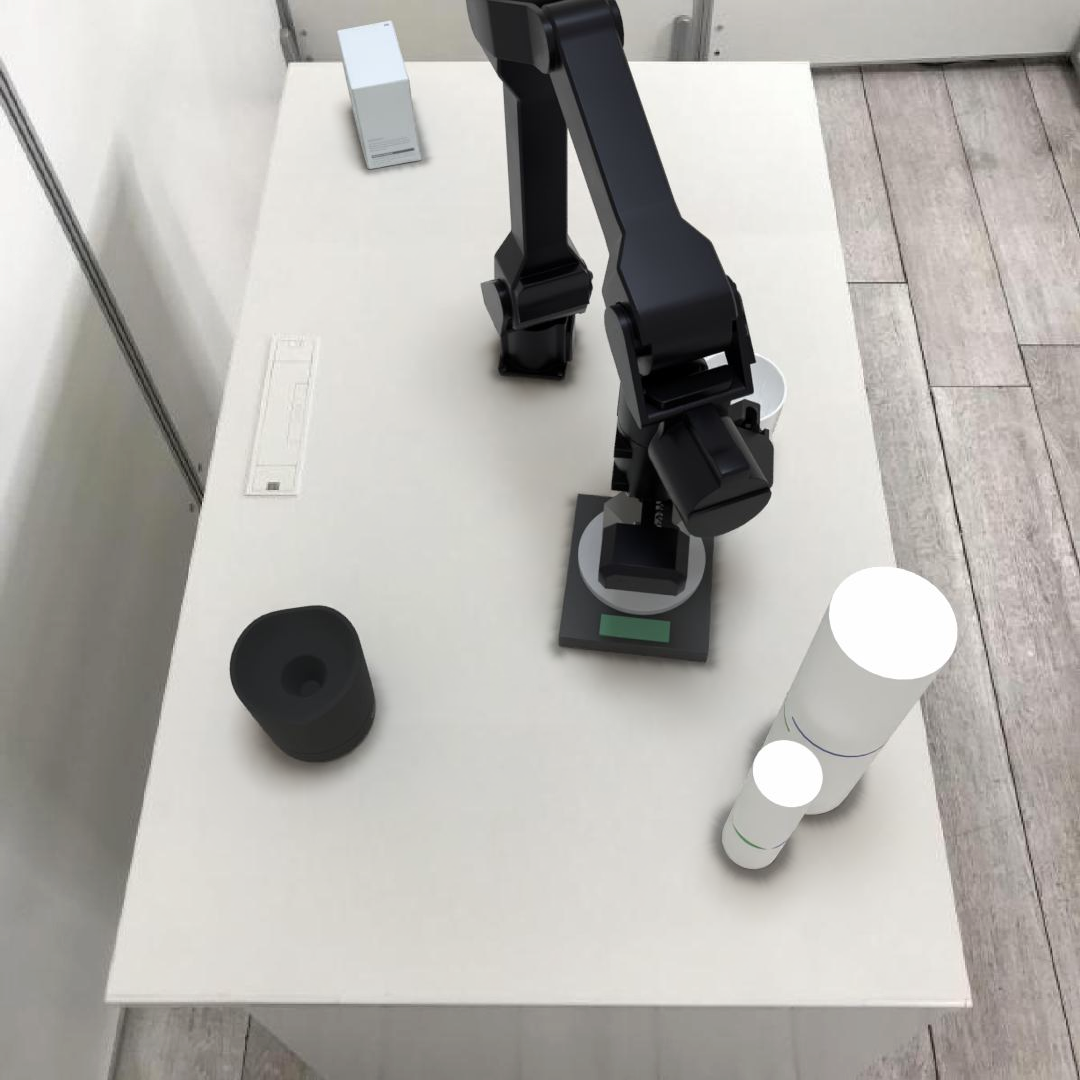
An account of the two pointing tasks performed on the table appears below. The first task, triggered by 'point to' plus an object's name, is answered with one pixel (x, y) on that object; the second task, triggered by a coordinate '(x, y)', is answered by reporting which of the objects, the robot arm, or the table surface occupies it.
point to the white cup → (761, 388)
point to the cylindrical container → (864, 673)
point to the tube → (771, 803)
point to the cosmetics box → (379, 94)
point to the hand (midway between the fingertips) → (643, 534)
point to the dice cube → (632, 512)
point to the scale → (633, 600)
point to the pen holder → (305, 681)
